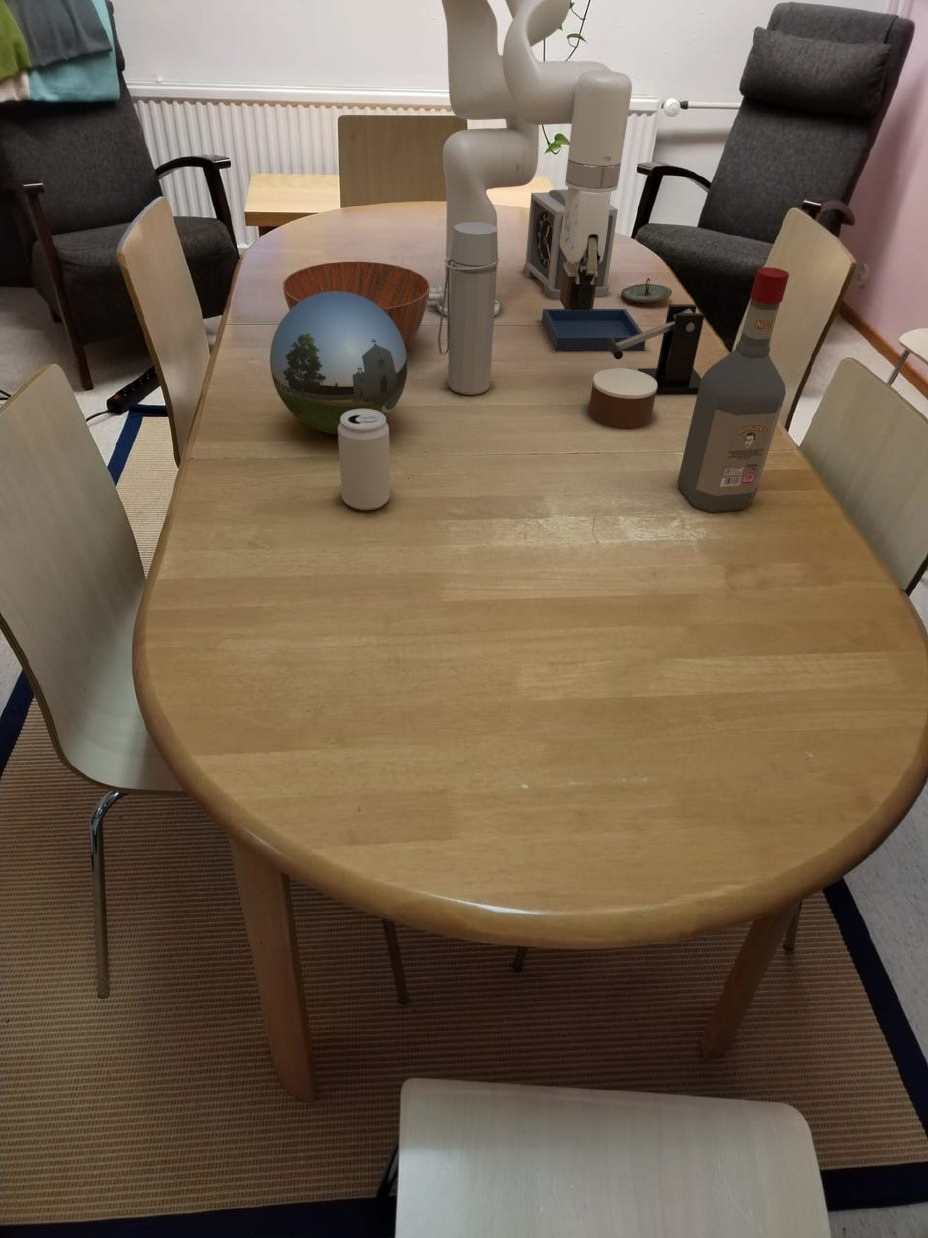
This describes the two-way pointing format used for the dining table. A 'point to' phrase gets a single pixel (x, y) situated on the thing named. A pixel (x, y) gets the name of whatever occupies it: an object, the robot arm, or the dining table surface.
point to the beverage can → (364, 458)
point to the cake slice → (567, 282)
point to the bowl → (367, 289)
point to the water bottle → (470, 307)
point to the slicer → (678, 353)
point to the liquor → (737, 410)
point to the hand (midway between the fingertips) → (576, 302)
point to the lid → (646, 293)
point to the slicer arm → (640, 337)
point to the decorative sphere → (337, 359)
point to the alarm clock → (558, 243)
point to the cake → (622, 398)
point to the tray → (589, 329)
